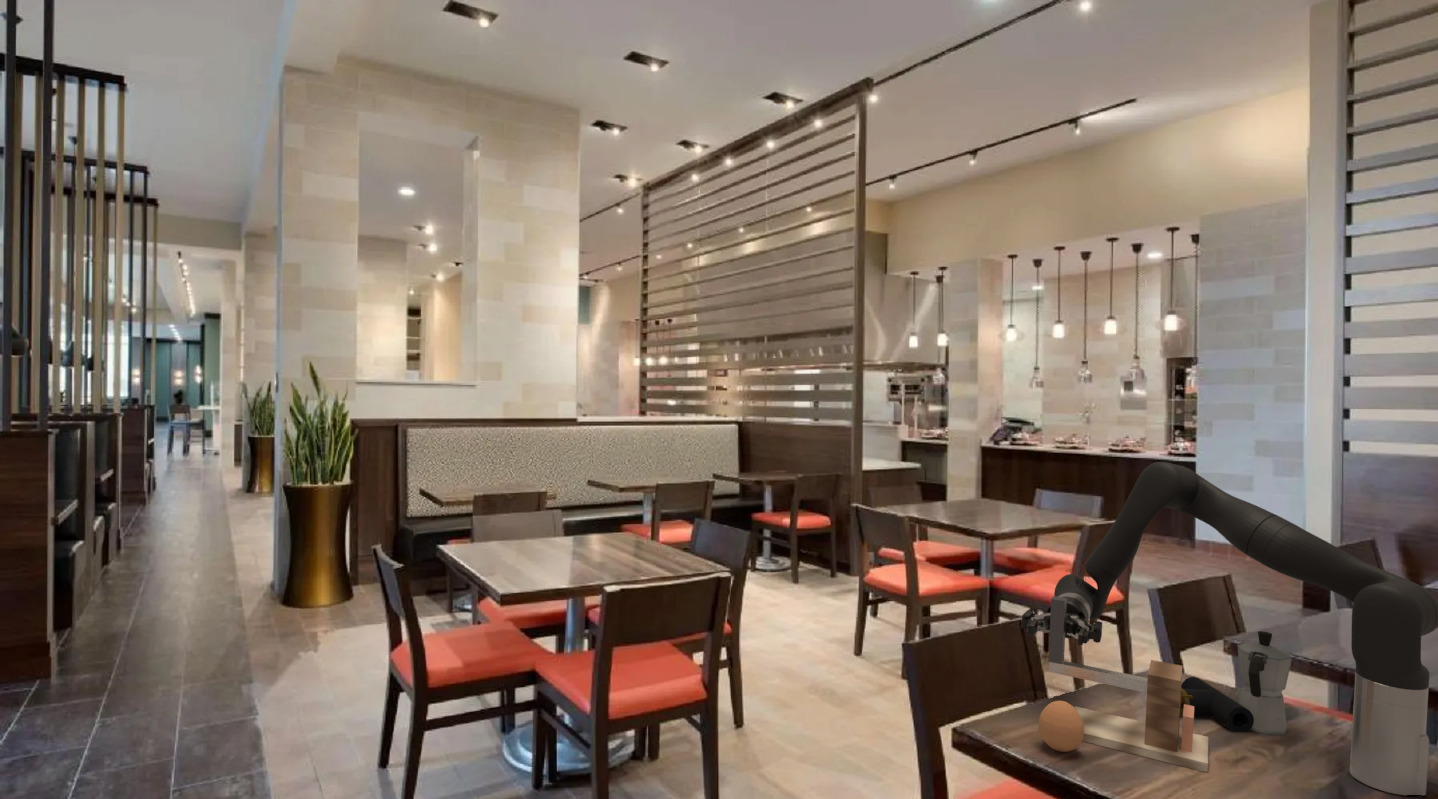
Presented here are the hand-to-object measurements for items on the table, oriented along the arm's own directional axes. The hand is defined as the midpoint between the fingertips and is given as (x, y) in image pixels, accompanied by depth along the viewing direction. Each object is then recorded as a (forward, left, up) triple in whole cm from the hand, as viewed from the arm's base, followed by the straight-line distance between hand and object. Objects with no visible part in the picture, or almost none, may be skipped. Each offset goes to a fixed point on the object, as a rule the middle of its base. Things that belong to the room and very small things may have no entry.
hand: (1055, 635), depth 148 cm
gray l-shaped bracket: (-8, -2, -8) cm, 11 cm away
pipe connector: (-23, -23, -17) cm, 37 cm away
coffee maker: (-33, -23, -17) cm, 44 cm away
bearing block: (-14, -2, -17) cm, 22 cm away
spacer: (-22, -2, -15) cm, 27 cm away
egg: (-3, +10, -17) cm, 20 cm away
